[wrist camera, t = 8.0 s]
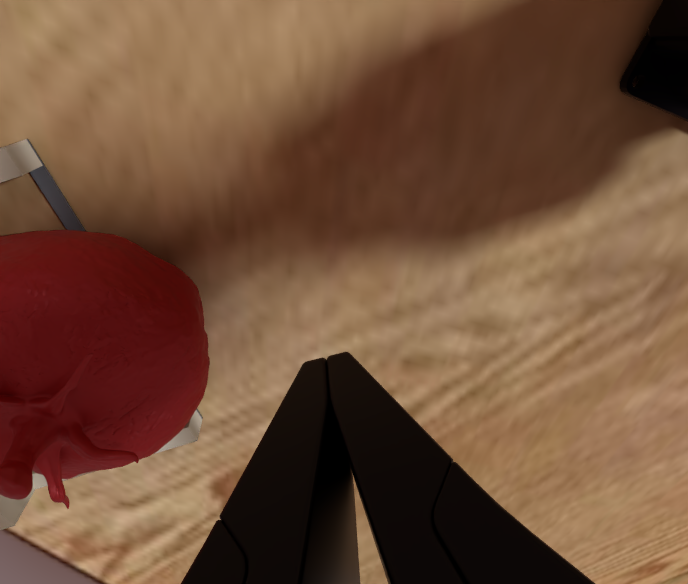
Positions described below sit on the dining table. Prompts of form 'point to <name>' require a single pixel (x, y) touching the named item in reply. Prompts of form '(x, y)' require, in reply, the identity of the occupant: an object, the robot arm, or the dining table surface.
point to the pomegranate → (92, 356)
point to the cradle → (25, 159)
